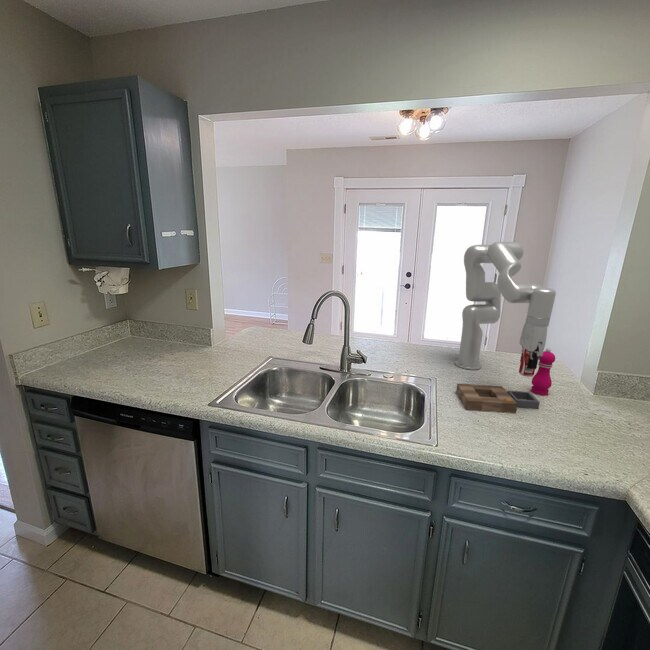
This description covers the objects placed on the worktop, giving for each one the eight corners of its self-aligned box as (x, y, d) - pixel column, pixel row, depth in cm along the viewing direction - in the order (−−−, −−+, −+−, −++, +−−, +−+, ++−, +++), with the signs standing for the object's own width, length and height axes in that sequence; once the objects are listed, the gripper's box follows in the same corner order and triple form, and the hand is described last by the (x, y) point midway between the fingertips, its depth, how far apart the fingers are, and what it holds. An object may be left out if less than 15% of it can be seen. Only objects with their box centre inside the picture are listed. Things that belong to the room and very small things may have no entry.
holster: (506, 397, 140) (507, 390, 139) (527, 398, 139) (529, 391, 139) (515, 407, 132) (516, 400, 131) (538, 408, 131) (539, 401, 130)
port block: (456, 392, 144) (457, 382, 143) (500, 394, 142) (501, 385, 141) (466, 409, 129) (468, 399, 128) (515, 413, 128) (517, 403, 127)
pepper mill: (525, 389, 147) (534, 346, 142) (537, 387, 150) (546, 344, 144) (541, 397, 141) (550, 352, 135) (553, 394, 143) (563, 350, 138)
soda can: (519, 370, 137) (525, 342, 133) (534, 374, 133) (541, 345, 130) (517, 374, 133) (523, 345, 129) (532, 378, 130) (538, 349, 126)
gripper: (517, 314, 135) (508, 356, 140) (538, 326, 119) (527, 374, 124) (536, 315, 134) (527, 357, 140) (560, 328, 118) (549, 375, 123)
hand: (527, 364), depth 132 cm, fingers closed on soda can, 5 cm apart
